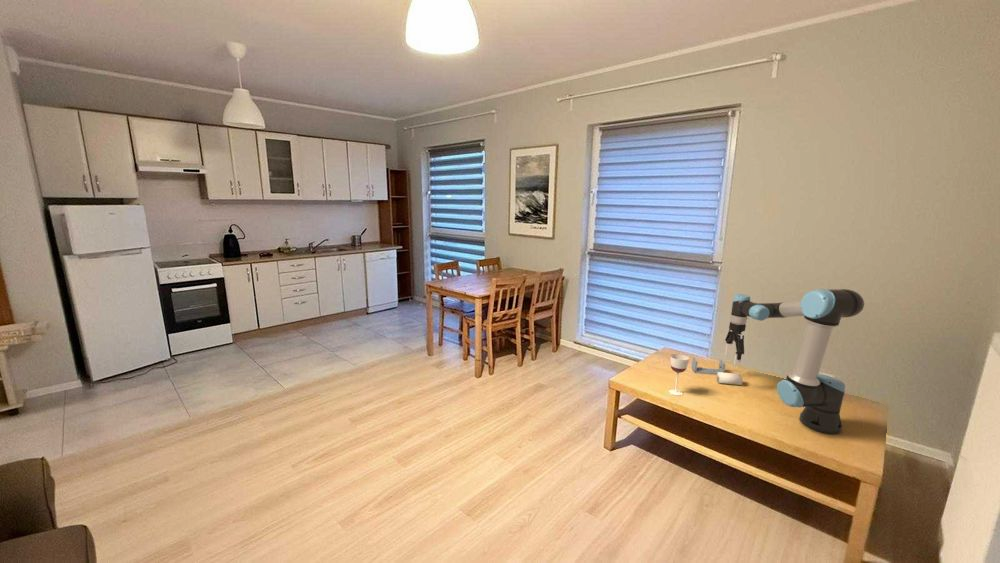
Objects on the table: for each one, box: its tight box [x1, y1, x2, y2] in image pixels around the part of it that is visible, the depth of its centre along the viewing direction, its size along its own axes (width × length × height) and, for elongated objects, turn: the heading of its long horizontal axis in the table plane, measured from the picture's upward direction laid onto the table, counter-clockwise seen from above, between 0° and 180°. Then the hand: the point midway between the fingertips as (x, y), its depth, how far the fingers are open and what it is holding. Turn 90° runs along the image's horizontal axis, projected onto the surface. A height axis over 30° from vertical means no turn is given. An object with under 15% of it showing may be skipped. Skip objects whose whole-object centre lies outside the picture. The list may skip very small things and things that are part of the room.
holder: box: [691, 357, 726, 376], centre depth 234 cm, size 6×16×7 cm, turn 79°
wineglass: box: [668, 353, 690, 396], centre depth 206 cm, size 8×9×20 cm
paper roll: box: [716, 372, 743, 386], centre depth 220 cm, size 11×6×6 cm, turn 79°
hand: (732, 359), depth 217 cm, fingers open, 13 cm apart
